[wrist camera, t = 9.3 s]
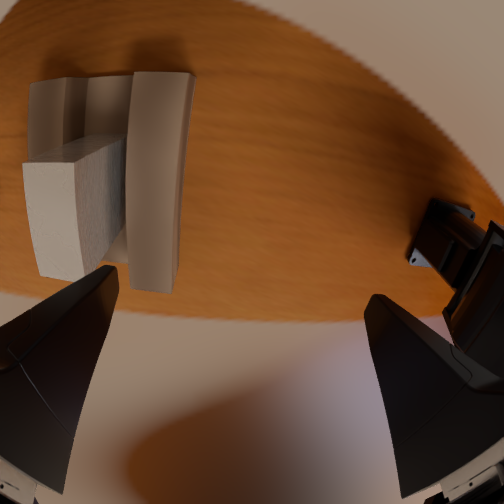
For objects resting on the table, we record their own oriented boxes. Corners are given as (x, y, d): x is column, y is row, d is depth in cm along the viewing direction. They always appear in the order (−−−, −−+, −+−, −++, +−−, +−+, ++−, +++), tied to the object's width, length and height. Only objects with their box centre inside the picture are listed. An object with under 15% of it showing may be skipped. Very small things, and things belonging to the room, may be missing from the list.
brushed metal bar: (133, 134, 16) (74, 162, 9) (130, 217, 19) (86, 284, 12) (93, 133, 16) (22, 162, 9) (94, 213, 19) (40, 275, 12)
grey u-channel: (196, 77, 15) (188, 72, 12) (178, 266, 22) (171, 293, 19) (57, 81, 14) (30, 83, 11) (64, 251, 21) (45, 275, 18)
